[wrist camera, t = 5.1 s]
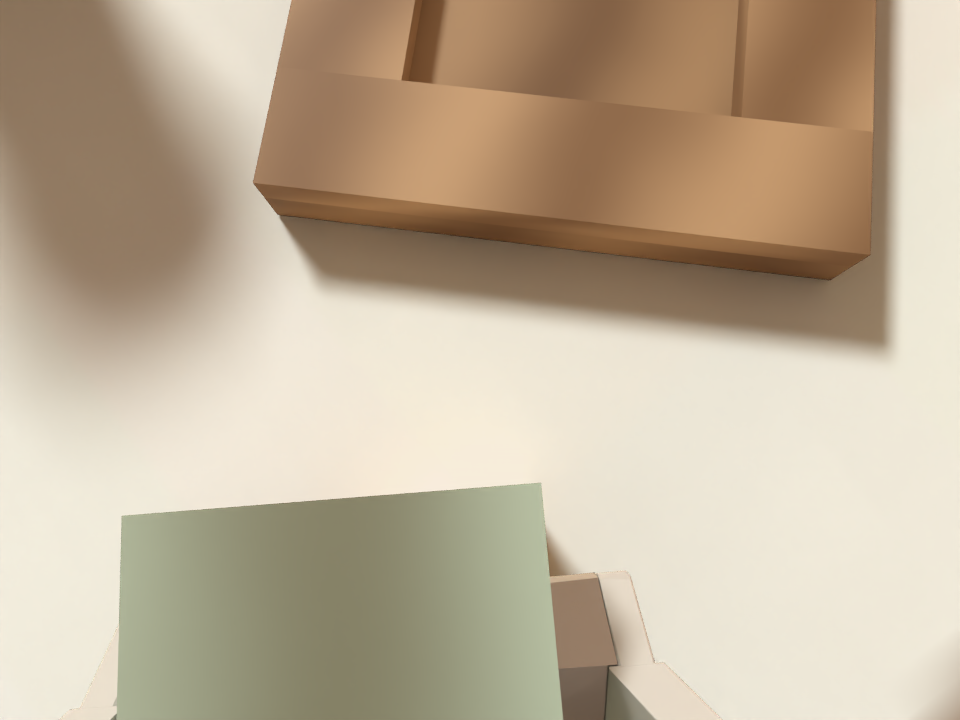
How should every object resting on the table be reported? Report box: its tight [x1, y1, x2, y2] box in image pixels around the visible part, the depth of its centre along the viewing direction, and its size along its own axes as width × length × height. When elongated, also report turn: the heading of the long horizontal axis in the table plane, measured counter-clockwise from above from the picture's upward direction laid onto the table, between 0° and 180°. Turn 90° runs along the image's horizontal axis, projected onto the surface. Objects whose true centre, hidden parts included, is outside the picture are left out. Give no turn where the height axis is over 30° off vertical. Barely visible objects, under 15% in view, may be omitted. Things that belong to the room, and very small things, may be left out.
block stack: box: [117, 483, 563, 720], centre depth 11 cm, size 5×5×8 cm
